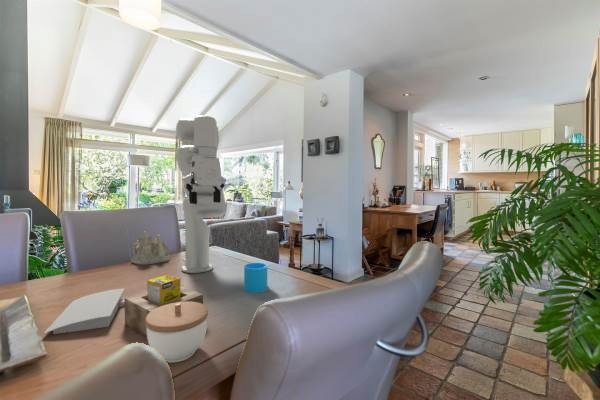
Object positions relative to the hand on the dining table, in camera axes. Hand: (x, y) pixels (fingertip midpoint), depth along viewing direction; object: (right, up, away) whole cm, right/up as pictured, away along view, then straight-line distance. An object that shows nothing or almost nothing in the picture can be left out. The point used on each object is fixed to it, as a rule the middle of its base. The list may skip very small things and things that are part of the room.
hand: (205, 203), depth 102 cm
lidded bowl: (+6, -33, -37) cm, 50 cm away
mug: (+16, -31, +5) cm, 35 cm away
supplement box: (-4, -31, -23) cm, 39 cm away
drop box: (-4, -32, -23) cm, 39 cm away
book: (-25, -32, -20) cm, 45 cm away
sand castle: (-38, -28, +38) cm, 61 cm away
